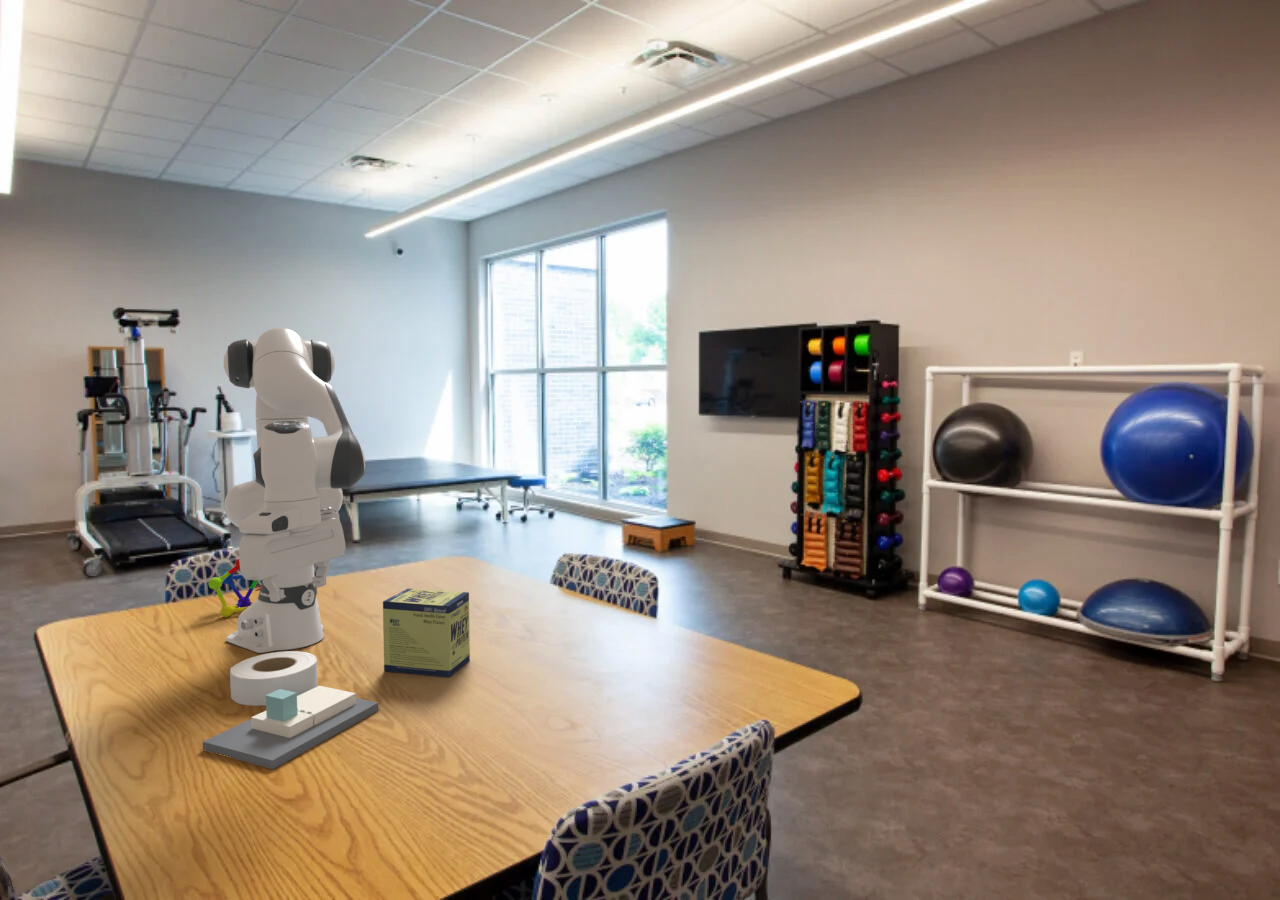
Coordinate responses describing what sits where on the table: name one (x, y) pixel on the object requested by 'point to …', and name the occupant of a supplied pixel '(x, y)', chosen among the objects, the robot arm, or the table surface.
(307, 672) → the roll of tape
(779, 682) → the table surface
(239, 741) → the desk mat
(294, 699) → the cube on white base
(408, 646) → the protein box
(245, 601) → the educational toy
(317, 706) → the pad
